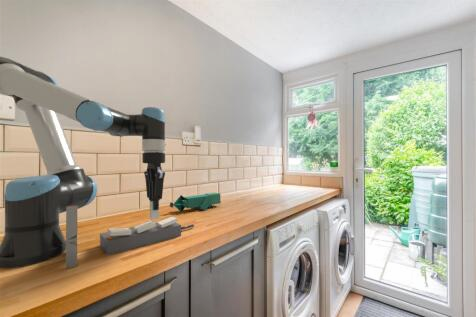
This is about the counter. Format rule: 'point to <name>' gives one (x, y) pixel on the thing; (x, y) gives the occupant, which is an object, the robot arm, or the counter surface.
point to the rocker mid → (144, 226)
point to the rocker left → (119, 231)
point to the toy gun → (71, 236)
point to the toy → (197, 201)
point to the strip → (139, 238)
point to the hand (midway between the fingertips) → (154, 218)
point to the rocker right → (167, 222)
